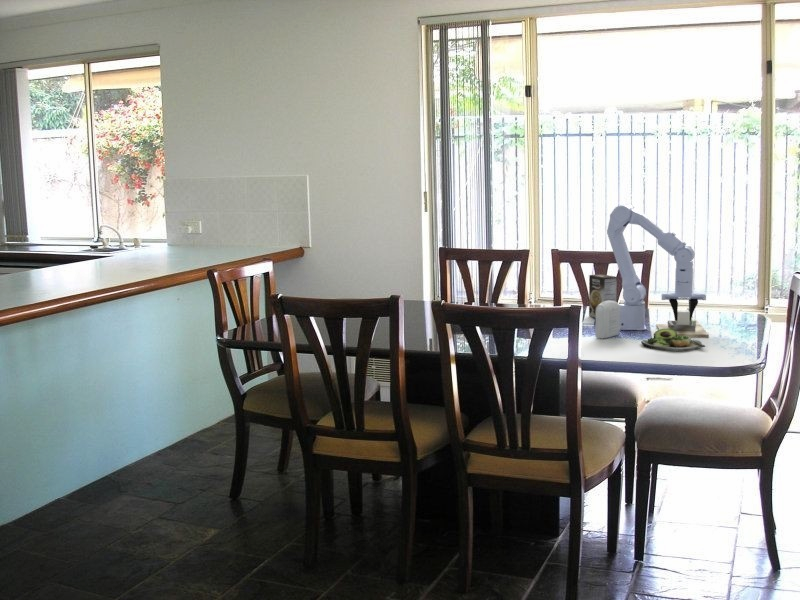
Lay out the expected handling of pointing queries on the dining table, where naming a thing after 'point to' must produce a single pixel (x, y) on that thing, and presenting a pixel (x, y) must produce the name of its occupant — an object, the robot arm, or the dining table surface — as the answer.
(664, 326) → the beige board
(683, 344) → the salad plate
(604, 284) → the coffee box
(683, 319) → the white cube block
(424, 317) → the dining table surface
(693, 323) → the gate
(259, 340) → the dining table surface
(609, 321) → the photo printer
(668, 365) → the dining table surface
